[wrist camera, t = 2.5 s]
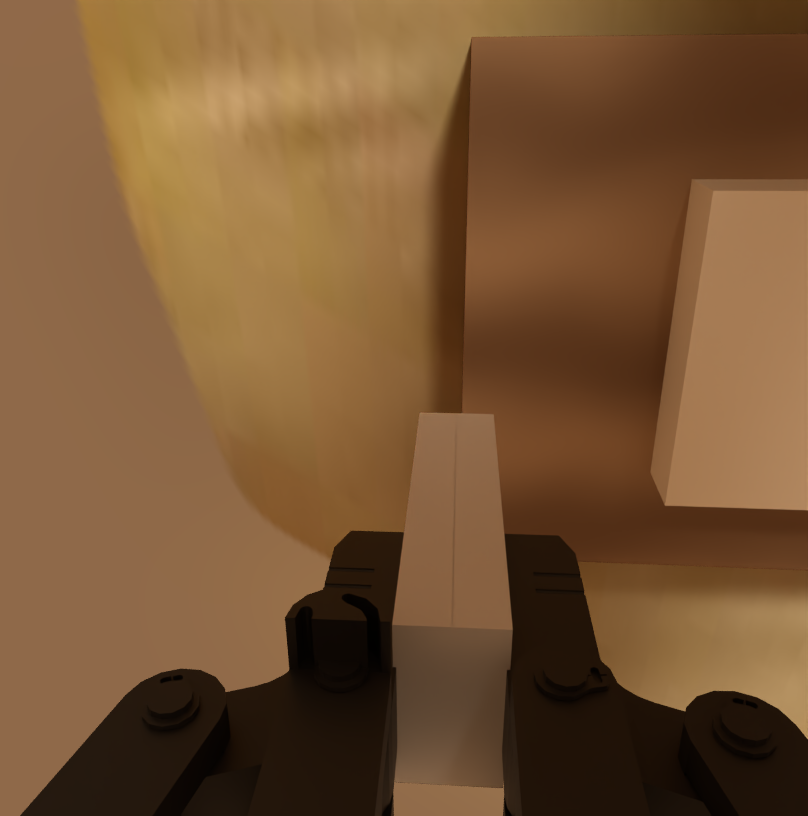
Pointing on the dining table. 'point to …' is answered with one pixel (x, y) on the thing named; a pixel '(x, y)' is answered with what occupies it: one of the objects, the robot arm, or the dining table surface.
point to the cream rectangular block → (738, 351)
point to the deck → (609, 271)
